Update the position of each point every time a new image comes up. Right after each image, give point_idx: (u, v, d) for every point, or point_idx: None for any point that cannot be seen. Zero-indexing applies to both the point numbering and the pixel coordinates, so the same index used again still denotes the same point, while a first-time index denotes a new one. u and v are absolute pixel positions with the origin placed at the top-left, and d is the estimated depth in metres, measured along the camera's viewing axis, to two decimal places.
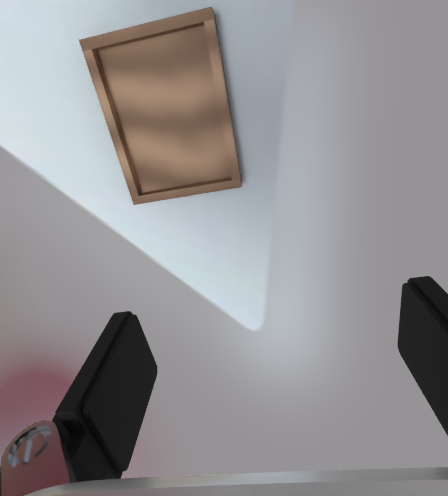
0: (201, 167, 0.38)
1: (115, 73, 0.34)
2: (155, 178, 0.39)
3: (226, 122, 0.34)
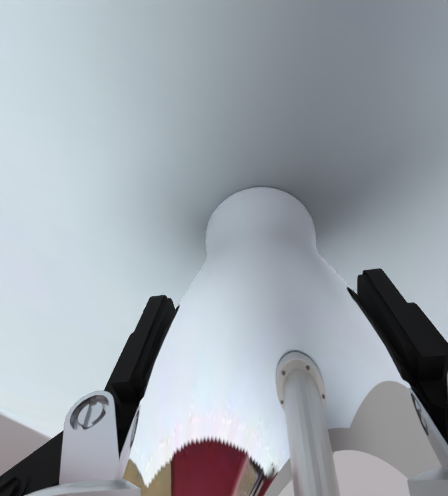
0: None
1: None
2: None
3: None
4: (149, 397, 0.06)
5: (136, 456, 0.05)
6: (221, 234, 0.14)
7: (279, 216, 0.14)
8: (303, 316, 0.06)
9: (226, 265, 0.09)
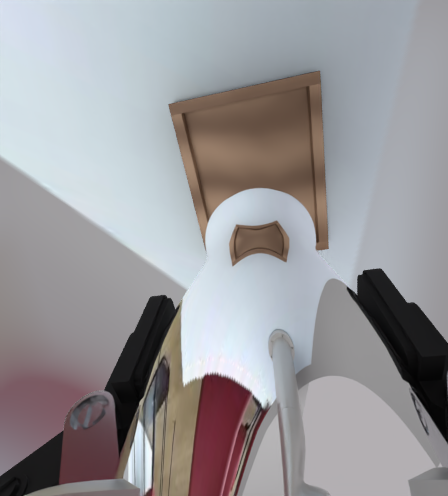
0: None
1: (200, 134, 0.32)
2: None
3: (320, 186, 0.32)
4: (148, 399, 0.06)
5: (135, 458, 0.05)
6: (221, 234, 0.14)
7: (279, 216, 0.13)
8: (303, 317, 0.06)
9: (226, 266, 0.09)
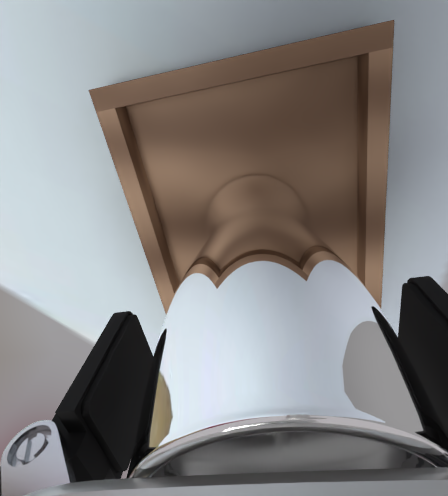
0: None
1: (158, 148, 0.17)
2: None
3: (375, 241, 0.18)
4: (170, 329, 0.08)
5: (164, 364, 0.07)
6: (220, 216, 0.15)
7: (271, 198, 0.15)
8: (289, 261, 0.08)
9: (226, 234, 0.11)
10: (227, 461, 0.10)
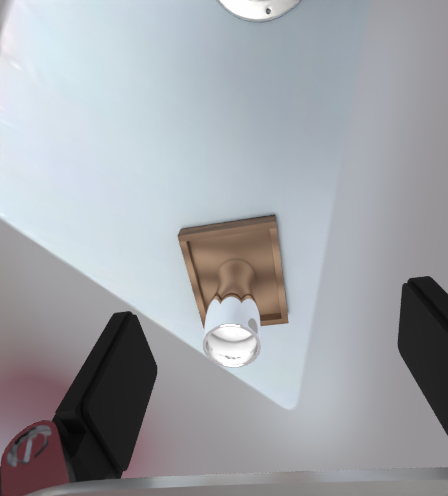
0: None
1: (198, 250, 0.46)
2: None
3: (280, 285, 0.47)
4: (209, 314, 0.37)
5: (209, 320, 0.36)
6: (221, 278, 0.44)
7: (239, 272, 0.44)
8: (235, 300, 0.37)
9: (222, 290, 0.40)
10: (222, 347, 0.39)
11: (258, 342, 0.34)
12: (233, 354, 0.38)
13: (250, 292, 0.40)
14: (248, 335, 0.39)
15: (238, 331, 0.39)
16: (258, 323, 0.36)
